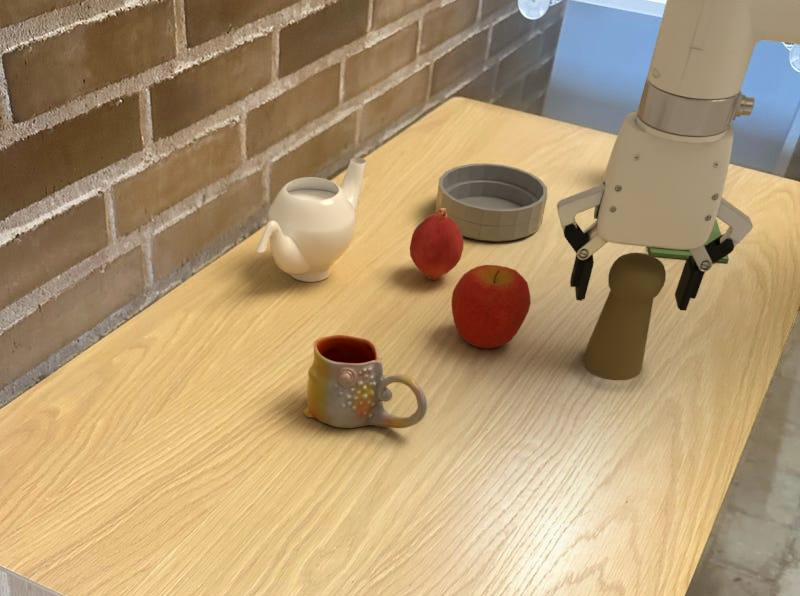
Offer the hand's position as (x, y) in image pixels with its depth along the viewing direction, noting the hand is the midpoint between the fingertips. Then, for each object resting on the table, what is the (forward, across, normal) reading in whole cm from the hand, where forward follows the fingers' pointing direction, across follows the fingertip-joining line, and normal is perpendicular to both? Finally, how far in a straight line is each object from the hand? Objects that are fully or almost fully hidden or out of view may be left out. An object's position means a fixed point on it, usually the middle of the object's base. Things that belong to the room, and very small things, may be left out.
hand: (629, 298), depth 93 cm
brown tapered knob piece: (+7, 0, 0) cm, 7 cm away
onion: (+7, +19, -14) cm, 25 cm away
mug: (+7, +24, +14) cm, 29 cm away
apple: (+7, +13, -2) cm, 15 cm away
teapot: (+7, +33, -13) cm, 36 cm away
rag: (+7, -11, -30) cm, 33 cm away
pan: (+7, +13, -30) cm, 33 cm away
